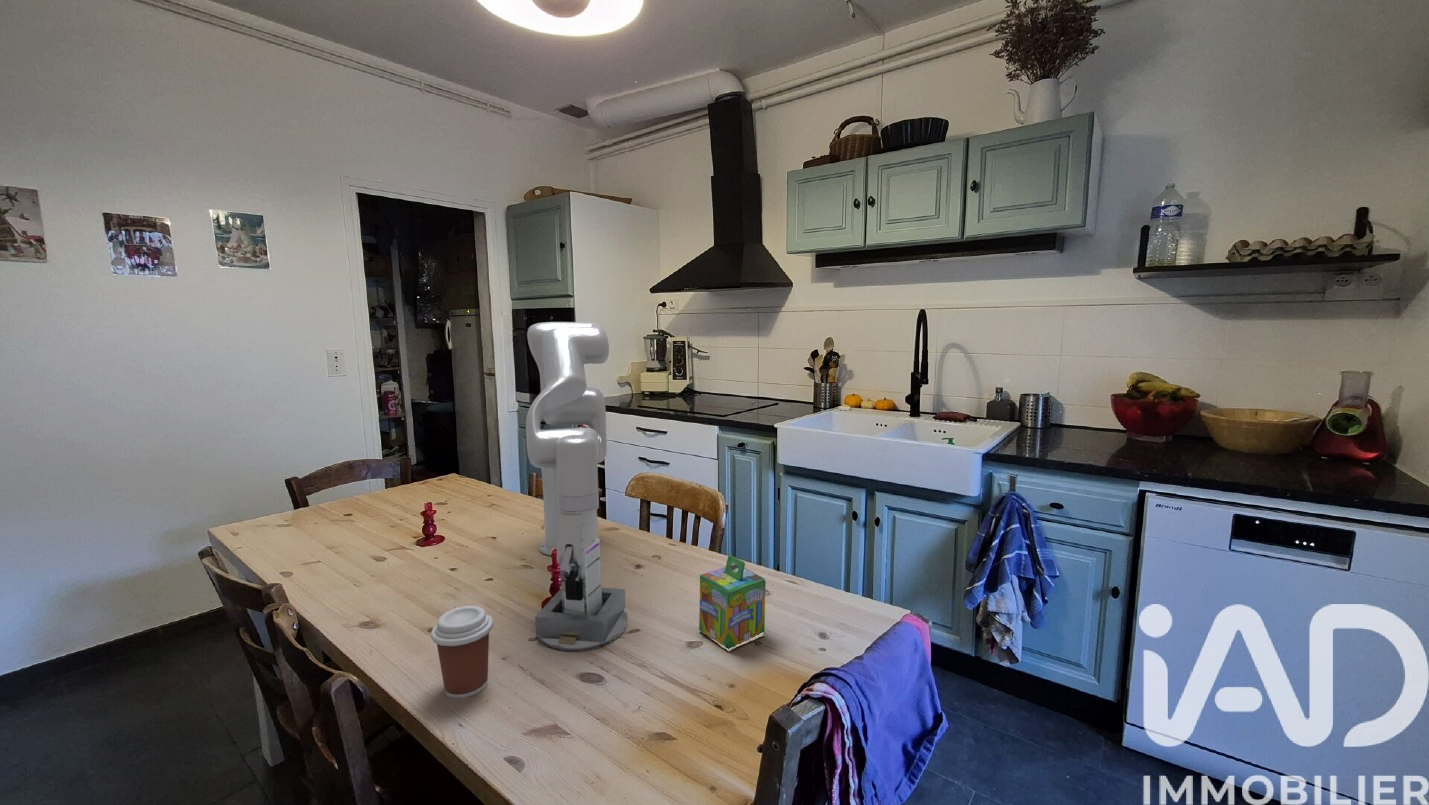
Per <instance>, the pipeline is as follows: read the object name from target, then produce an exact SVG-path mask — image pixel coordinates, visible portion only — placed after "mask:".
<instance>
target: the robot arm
mask: <svg viewBox="0 0 1429 805" xmlns="http://www.w3.org/2000/svg"><path fill="white" fill-rule="evenodd" d="M526 334H527V335H526V337H527V338H526V339H527V343H528V346H529V350H530V353H531V355H532V357H533V359H534V361H535V363H536V365H537V368H538V371H539V381H540V383H539V384H540V393H539V394H538V395H537V396H536V397H535V398H534V400H533V401H532V403H531V405H530V406H529V409H528V410H527V411H528V412H527V415H526V419H525V434H526V435H525V436H526V439H525V440H526V450H527V451H526V452H527V458H528V460H529V462H530V464H531V465H532V466H533V467H535V468H537V469H540V470H541V482H542V494H543V495H542V496H543V497H542V498H543V519H544V539H545V540H543V541H542V542H541V543H540V544H539V547H538V548H539V552H540V553H542V554H543V555H546V556H549V557H550V556H551V550H552V549H553V548H557V556H556V562H557V564H558V565H559V566H560V565H561V569H560V573H561V572H562V574H563V576H564V581H565V593H566V599H567V600H578V601H581V600H582V599H583V581H582V579H580V577H581V565H582V564H584V552H585V550H586V549H587V547H588V545H589V544H590V543H591V542H592V541H593V540H594V539H599V540H600V538H599V537H600V536H599V521H598V519H599V518H598V511H597V510H598V509H599V508H600V506H599V505H600V504H599V502H600V501H599V496H600V495H599V478H598V477H599V475H598V474H599V473H598V464H600V463H602V462H604V460H605V458H606V456H607V447H608V446H607V440H608V439H607V418H606V417H607V416H606V415H607V412H606V403H605V402H606V401H605V398H604V397H605V396H604V394H603V392H602V391H601V390H600V389H599V388H597V387H589V386H588V387H587V378H586V372H585V366H584V365H601V364H604V363H606V361H607V360H608V358H609V356H610V355H609V354H610V344H609V342H610V341H609V339H608V335H607V333H606V331H605V330H604V328H603V327H602V326H601V325H600V324H598V323H597V322H593V321H591V322H590V321H589V322H586V321H546V322H537V323H534V324H532V325H530V326H529V327H528V329H527V332H526ZM542 420H544V422H545V423H546V424H548V425H550V426H570V425H571V426H573V425H574V426H575V425H587V426H588V427H573V428H572V427H569V428H567V427H566V428H552V429H550V428H548V429H541V422H542ZM572 559H576V560H577V561H578V563H571V562H572ZM571 566H575V567H577V569H576V573H575V571H574V570H571Z"/></svg>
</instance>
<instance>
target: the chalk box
mask: <svg viewBox="0 0 1429 805" xmlns="http://www.w3.org/2000/svg"><path fill="white" fill-rule="evenodd" d="M745 566H746V563H745V561H744V560H741V559H739V558H737V557H735V556H732V555H728V557H727V560H726V564H725V567H722V568H721V567H720V568H718V569H715V570H711V571H709V572H705V573H703V574H700V575H699V613H698V615H699V619H698V621H699V623H698V626H699V627H698V631H699V630H700V631H701V632H703V633H705V634H706V635H708V636H709V637H711V638H712V639H714V640H716V641H717V642H719V643H720V644H722V645H724V646H725V647H726V648H728V649H729V648H731V647H734V646H736V645H737V644H741V643H742V642H744V641H747V640H749V639H750V638H753V637H755V636H756V635H759V634H760V633H762V632H764V633H765V625H766V624H765V618H766V584H767V582H766V579H765V578H764V577H763V576H760V575H759V574H757V573H755V572H753V571H751V570H749V569H748V568H746V567H745ZM701 632H700V633H701Z"/></svg>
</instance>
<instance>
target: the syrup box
mask: <svg viewBox="0 0 1429 805" xmlns="http://www.w3.org/2000/svg"><path fill="white" fill-rule="evenodd" d="M571 563H578V561H577V560H576V559H572V562H571ZM559 567H560V568H559V569H560V570H561V565H559ZM576 569H577V567H575V566H571V570H574V571H575V573H576ZM601 573H602V570H601V541H600V538H599V539H594V540H593V541H592V542H591V543H590V544H589V545H588V547H587V549H586V550H585V552H584V564H582V565H581V577H580V579H582V581H583V599H582V600H581V601H578V600H567V599H566V593H565V581H564V576H563V574H562V572H561V571H560V586H561V588H560V589H561V590H562V610H563V613H568V614H583V615H595V614H597V613H598V612H599V611H600V610H601V608H602V592H601V588H602V574H601Z"/></svg>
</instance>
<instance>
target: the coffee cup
mask: <svg viewBox="0 0 1429 805" xmlns="http://www.w3.org/2000/svg"><path fill="white" fill-rule="evenodd" d="M493 627H494V619H493V618H492V617H491V615H490V614H487V612H486V610H485V609H484V608H483V607H481V606H478V605H465V606H458V607H455V608H452V609H450V610H448V611H446V612H444V613H443V614H442V615H441V616H440V617H439V618H438V619H437V623H436V625H435V626H433V628H432V630H431V632H430V638H431V641H432V642H433V643H434V644H436V646H437V647H436V648H437V654H438V659H439V660H438V661H439V666H440V670H441V676H442V681H443V683H442V684H443V689H444V693H445V696H447V697H449V696H450V697H449V698H450V699H458V698H460V699H464V698H463V697H466V698H469V697H468V696H470V697H471V696H474V695H473V694H475V695H477V694H479V693H480V692H482V691H483V690H484V689H485V688H486V687H485V686H488V683H489V647H490V646H489V644H490V643H489V642H490V632H491V631H492V630H493ZM487 682H488V683H487ZM484 687H485V688H484ZM481 690H482V691H481ZM476 693H477V694H476Z"/></svg>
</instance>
